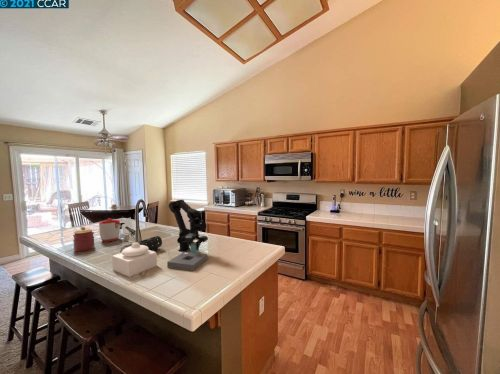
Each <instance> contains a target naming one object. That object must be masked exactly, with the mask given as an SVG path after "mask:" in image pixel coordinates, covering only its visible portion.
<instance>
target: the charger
mask: <svg viewBox="0 0 500 374" xmlns="http://www.w3.org/2000/svg"><path fill="white" fill-rule="evenodd" d="M196 242H197V241H193V243H191V247H190V252H191V253H200V248H199V249H198V250H197V243H196Z"/></svg>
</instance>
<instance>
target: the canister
mask: <svg viewBox="0 0 500 374" xmlns="http://www.w3.org/2000/svg"><path fill="white" fill-rule="evenodd" d="M94 235H95V233H94V231H93V229H91V228H86V227H85V226H81V229H80V228H79V229H77V230H75V231H74V232H73V235H72V237H73V239H72V240H73V251H74V252H75V251H77V253H80V251H82V252H87V250H88V251H90V250H93V249H94V248H95V236H94Z"/></svg>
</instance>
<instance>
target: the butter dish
mask: <svg viewBox="0 0 500 374" xmlns="http://www.w3.org/2000/svg"><path fill="white" fill-rule="evenodd" d="M138 242H139V241H136V242H133V243H131V244H132V246H130V247H127V248H125V249H124V250H123V251H122V252H121V253H120V252H119V253H117V254H114V255H112V270H113V271H114V272H117V273H119V274H121V275H124V276H126V277H128V278H130V277H132V276H133V277H134V276H136V275H137V274H140V273H142V272H145V271H148V270H150V269H153V268H155V267H157V266H158V259H157V256H158V255H157V254H158V253H157V252H156V251H155V250H153V251H151V250H149V248H148V247H147V246H145V245H140V244H139V243H138Z"/></svg>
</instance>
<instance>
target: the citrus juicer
mask: <svg viewBox="0 0 500 374" xmlns="http://www.w3.org/2000/svg"><path fill="white" fill-rule="evenodd" d="M120 221H121V220H120V219H112V218H111V217H108V218H107V219H105V220H100V221H99V222H98V227H99V236H100V240H101V241H102V242H104V243H105V242H107V243H108V242H109V243H110V241H112V242H114V241H117V240H119V237H120V233H121V228H122V224H121V222H120Z"/></svg>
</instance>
